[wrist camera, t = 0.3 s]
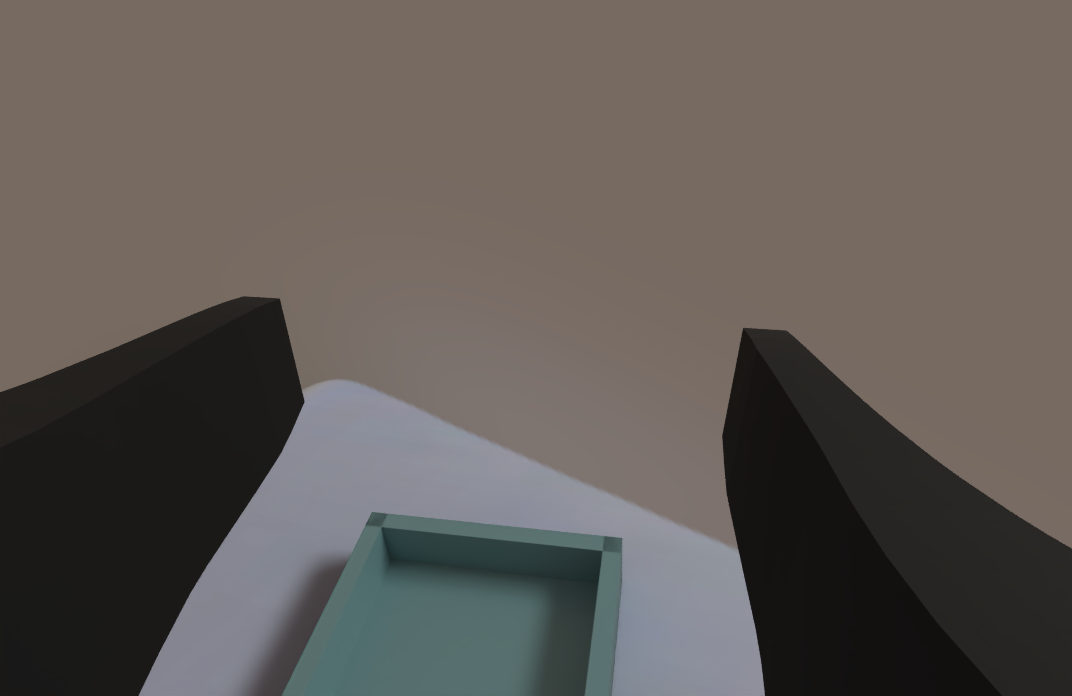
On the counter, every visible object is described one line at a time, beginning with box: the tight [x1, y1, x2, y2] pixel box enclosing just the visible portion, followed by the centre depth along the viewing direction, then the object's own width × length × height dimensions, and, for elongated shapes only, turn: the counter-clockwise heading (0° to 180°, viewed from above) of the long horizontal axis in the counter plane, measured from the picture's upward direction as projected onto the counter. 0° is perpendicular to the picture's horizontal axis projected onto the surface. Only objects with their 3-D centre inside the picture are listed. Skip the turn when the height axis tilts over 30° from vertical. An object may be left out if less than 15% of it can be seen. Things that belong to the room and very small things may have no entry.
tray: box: [282, 512, 622, 696], centre depth 26 cm, size 14×12×3 cm
